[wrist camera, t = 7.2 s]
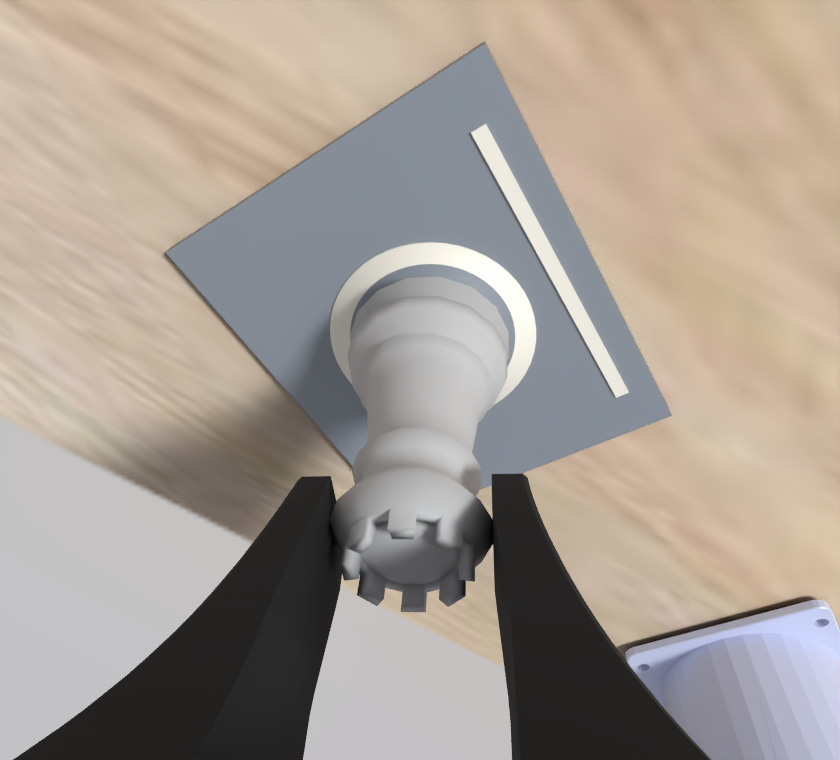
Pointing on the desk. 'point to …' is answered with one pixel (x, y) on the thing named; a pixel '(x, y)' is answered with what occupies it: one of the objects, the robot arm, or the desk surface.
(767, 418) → the desk surface
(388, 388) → the rook chess piece
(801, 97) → the desk surface
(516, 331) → the grey base plate
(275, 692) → the robot arm
